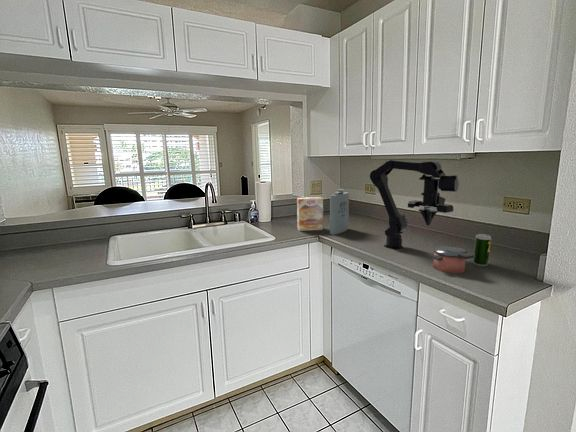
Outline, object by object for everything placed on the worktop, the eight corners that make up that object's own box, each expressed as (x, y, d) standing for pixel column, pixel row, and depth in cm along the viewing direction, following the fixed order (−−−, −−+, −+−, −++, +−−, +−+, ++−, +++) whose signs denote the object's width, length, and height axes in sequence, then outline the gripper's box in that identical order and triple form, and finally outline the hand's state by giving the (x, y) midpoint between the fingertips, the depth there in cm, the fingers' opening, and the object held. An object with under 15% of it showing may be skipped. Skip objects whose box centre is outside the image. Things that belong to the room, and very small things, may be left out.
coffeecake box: (298, 231, 186) (298, 199, 182) (297, 228, 193) (296, 197, 189) (323, 229, 188) (323, 198, 184) (320, 227, 195) (320, 196, 191)
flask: (335, 235, 176) (336, 191, 171) (328, 233, 178) (329, 190, 174) (350, 229, 189) (351, 188, 184) (343, 228, 192) (344, 187, 187)
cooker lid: (427, 250, 124) (427, 248, 124) (448, 247, 128) (448, 245, 128) (458, 260, 111) (458, 258, 111) (480, 256, 115) (481, 253, 115)
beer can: (473, 265, 125) (475, 236, 122) (472, 261, 129) (475, 233, 127) (488, 267, 122) (492, 237, 120) (487, 263, 127) (491, 234, 124)
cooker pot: (421, 265, 125) (422, 251, 124) (449, 260, 130) (450, 246, 129) (445, 276, 114) (447, 260, 113) (475, 269, 120) (476, 254, 119)
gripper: (462, 190, 131) (459, 226, 134) (423, 187, 147) (420, 219, 150) (447, 192, 126) (444, 230, 129) (407, 189, 141) (406, 222, 144)
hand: (428, 225), depth 138 cm, fingers closed
